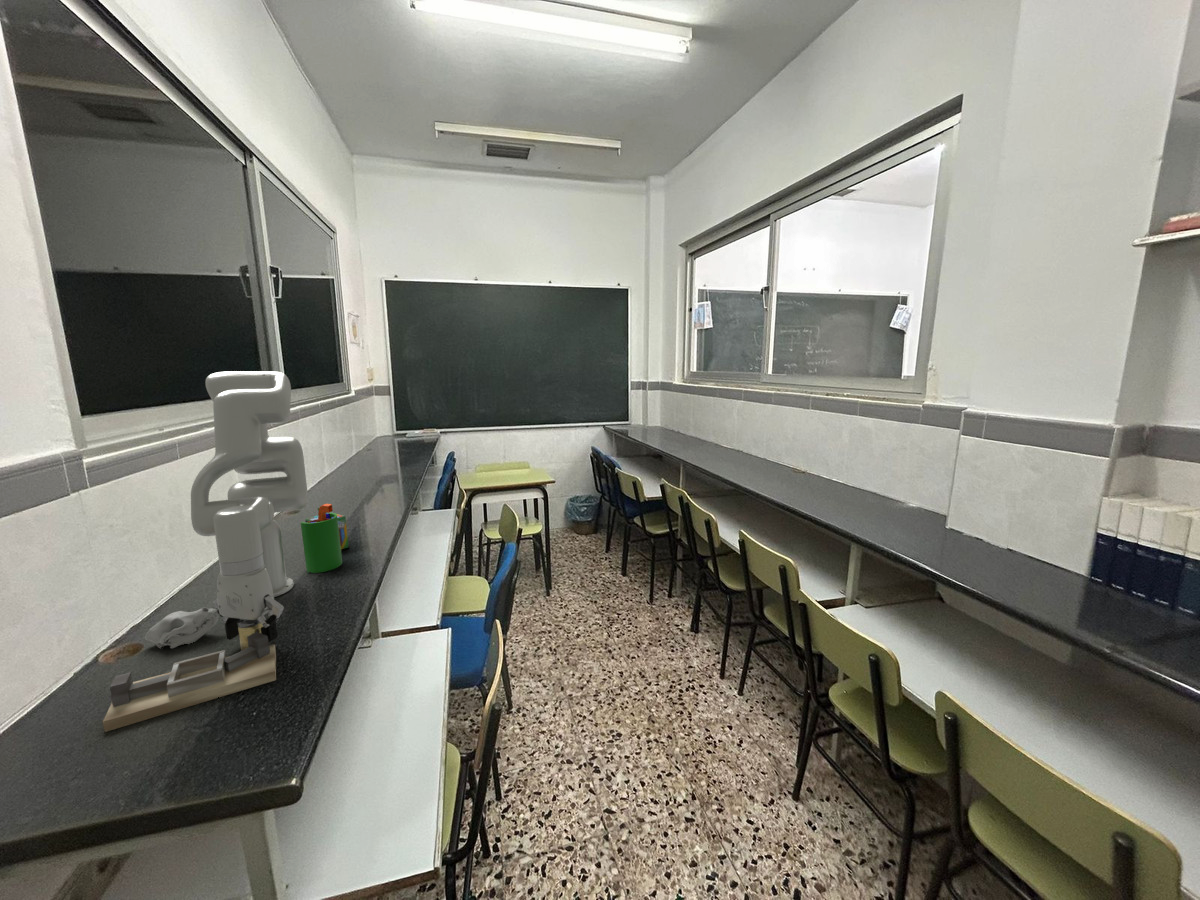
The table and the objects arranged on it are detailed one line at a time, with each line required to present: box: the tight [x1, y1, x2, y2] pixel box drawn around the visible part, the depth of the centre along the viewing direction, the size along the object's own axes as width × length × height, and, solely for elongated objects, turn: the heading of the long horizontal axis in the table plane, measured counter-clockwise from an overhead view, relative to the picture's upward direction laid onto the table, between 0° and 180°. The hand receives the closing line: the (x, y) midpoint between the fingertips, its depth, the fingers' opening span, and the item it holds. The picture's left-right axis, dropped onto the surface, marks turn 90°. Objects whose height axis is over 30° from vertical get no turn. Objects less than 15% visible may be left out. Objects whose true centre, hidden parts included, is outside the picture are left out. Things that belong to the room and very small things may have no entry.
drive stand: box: [102, 632, 277, 733], centre depth 90 cm, size 11×24×6 cm, turn 125°
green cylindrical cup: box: [300, 503, 343, 574], centre depth 144 cm, size 10×9×20 cm
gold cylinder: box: [237, 619, 263, 651], centre depth 102 cm, size 4×4×7 cm
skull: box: [144, 607, 220, 649], centre depth 105 cm, size 8×9×12 cm
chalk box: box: [304, 507, 350, 551], centre depth 158 cm, size 9×9×15 cm
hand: (252, 638), depth 102 cm, fingers open, 8 cm apart
